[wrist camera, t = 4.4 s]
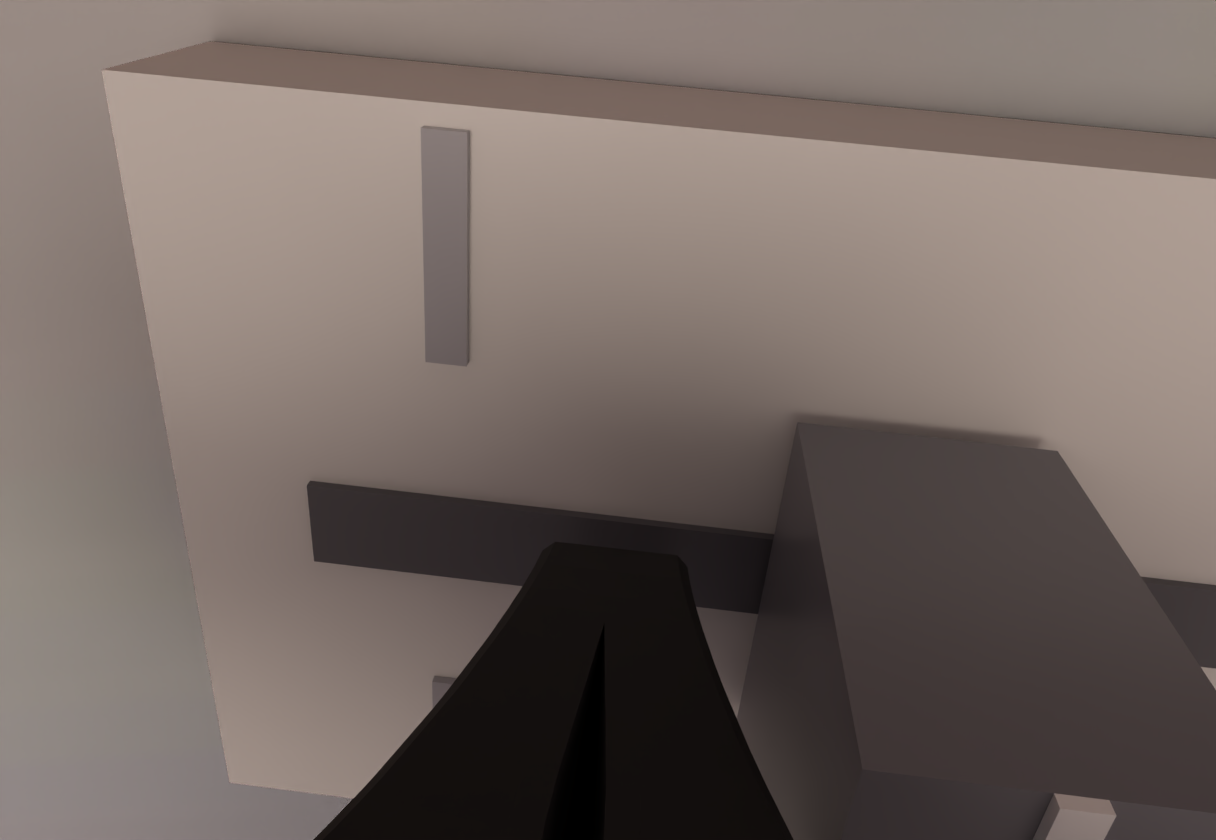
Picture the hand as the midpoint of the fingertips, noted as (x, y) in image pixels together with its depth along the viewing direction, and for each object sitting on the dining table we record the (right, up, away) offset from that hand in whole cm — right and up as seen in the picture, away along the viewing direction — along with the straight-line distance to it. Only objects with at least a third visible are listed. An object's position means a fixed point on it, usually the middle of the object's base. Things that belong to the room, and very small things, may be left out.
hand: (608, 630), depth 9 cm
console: (+4, +1, +3) cm, 5 cm away
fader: (+3, 0, +1) cm, 3 cm away
